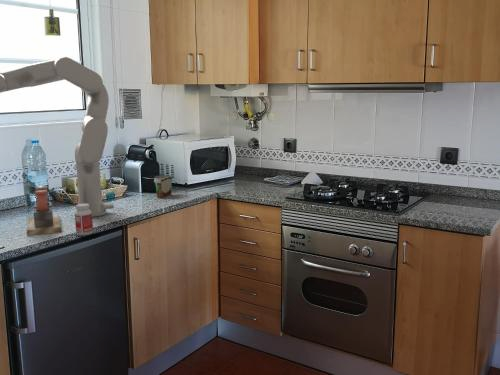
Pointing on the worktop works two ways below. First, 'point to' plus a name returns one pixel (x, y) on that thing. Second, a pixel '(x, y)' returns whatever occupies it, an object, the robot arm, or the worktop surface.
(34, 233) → the board
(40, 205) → the red plug
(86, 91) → the robot arm
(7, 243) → the worktop surface
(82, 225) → the pill bottle
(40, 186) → the grey plug
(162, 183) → the food container
